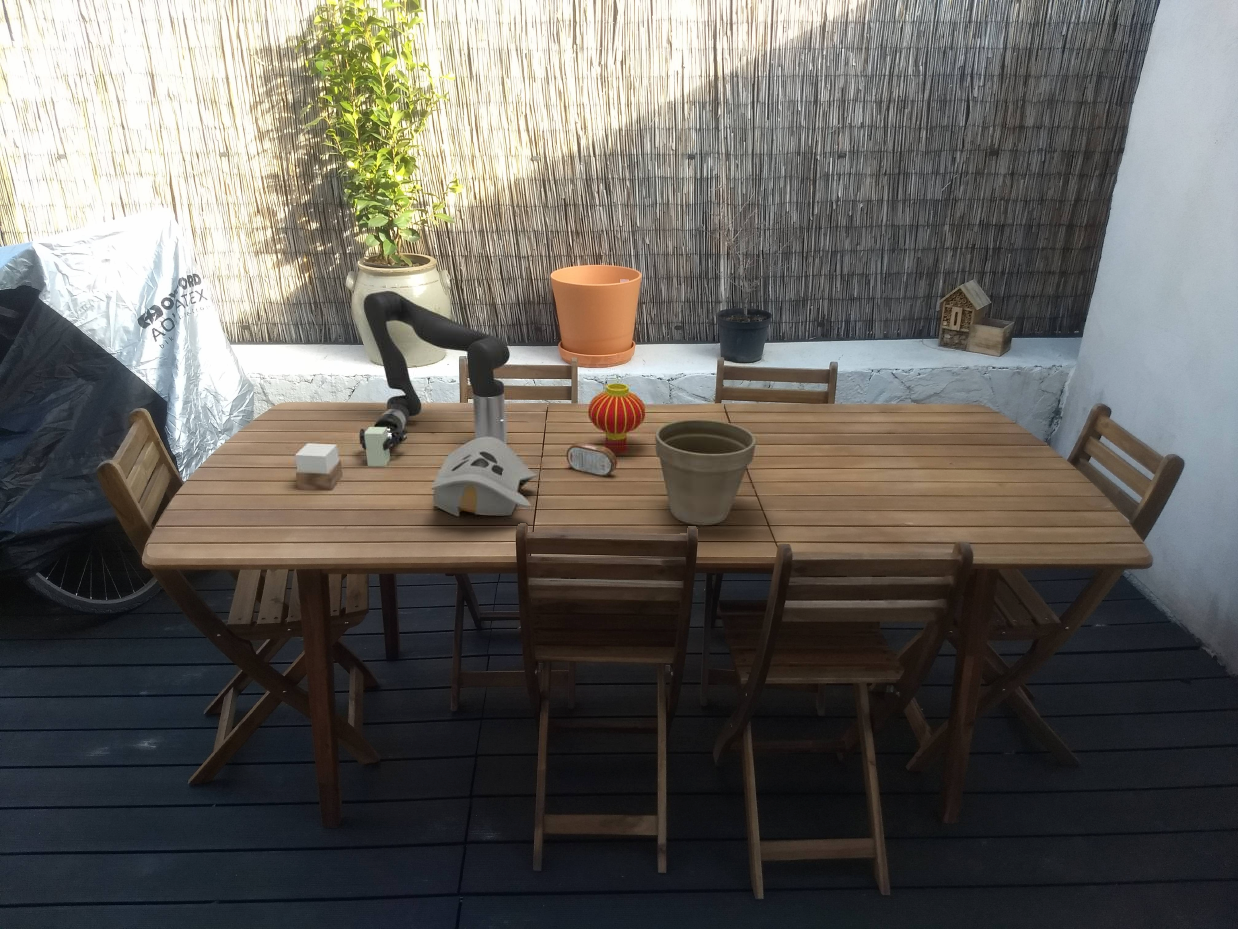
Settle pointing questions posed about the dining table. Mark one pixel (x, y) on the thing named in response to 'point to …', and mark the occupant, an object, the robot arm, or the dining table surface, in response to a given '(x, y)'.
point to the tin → (591, 459)
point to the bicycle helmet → (481, 479)
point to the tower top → (317, 458)
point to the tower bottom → (319, 479)
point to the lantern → (616, 413)
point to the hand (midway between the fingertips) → (374, 446)
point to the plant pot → (703, 467)
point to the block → (376, 446)
